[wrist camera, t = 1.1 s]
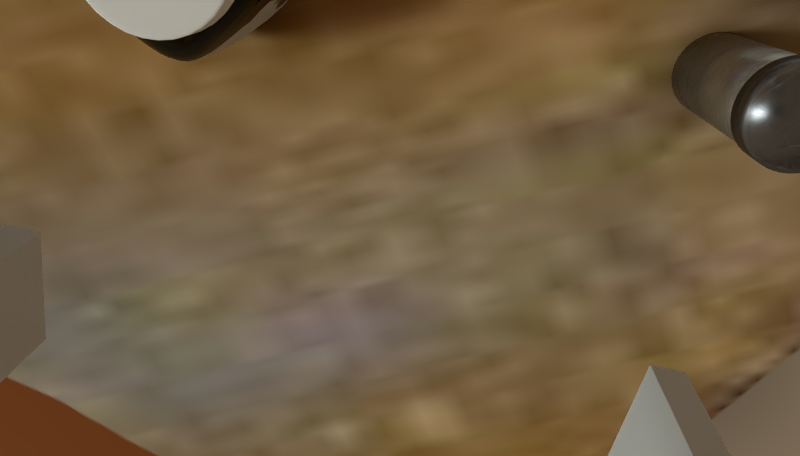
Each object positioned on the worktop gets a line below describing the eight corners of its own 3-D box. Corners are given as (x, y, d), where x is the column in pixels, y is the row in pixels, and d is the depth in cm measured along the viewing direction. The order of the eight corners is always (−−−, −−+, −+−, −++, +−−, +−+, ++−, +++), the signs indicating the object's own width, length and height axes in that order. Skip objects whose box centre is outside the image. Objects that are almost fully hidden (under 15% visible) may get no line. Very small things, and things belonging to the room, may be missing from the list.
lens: (686, 22, 34) (771, 50, 25) (772, 37, 34) (890, 71, 25) (656, 107, 36) (726, 162, 27) (738, 122, 36) (835, 182, 27)
